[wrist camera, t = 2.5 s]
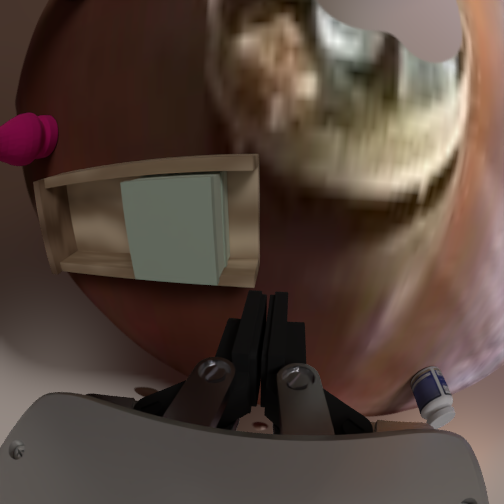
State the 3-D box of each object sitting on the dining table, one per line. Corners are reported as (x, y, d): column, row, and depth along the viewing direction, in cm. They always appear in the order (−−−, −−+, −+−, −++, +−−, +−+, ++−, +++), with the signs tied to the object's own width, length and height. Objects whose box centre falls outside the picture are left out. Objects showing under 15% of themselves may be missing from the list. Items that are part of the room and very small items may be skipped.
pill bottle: (406, 390, 36) (420, 435, 27) (414, 368, 34) (432, 416, 25) (434, 383, 36) (450, 425, 26) (443, 361, 33) (464, 405, 24)
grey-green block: (152, 172, 27) (120, 182, 21) (227, 169, 26) (210, 177, 20) (161, 253, 30) (135, 279, 24) (231, 256, 29) (217, 285, 23)
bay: (65, 172, 29) (33, 181, 23) (259, 153, 26) (251, 156, 20) (79, 254, 34) (52, 273, 28) (259, 264, 31) (252, 293, 25)
